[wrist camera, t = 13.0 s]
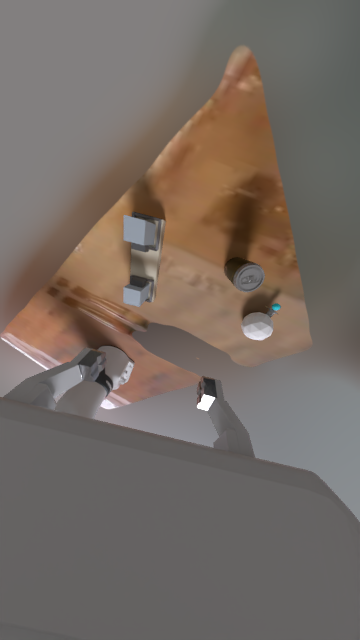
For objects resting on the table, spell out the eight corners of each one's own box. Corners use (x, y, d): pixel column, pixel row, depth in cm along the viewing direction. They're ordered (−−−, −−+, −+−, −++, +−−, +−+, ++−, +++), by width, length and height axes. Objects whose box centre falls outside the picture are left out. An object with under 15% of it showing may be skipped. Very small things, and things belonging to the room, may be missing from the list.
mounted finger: (148, 296, 39) (139, 306, 33) (134, 293, 39) (123, 302, 33) (150, 278, 36) (141, 285, 30) (135, 274, 36) (123, 280, 30)
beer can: (225, 281, 37) (236, 296, 27) (222, 261, 35) (232, 269, 24) (246, 275, 36) (266, 288, 25) (244, 253, 33) (265, 259, 23)
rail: (155, 298, 42) (152, 302, 39) (133, 293, 42) (128, 296, 39) (165, 221, 32) (162, 219, 29) (136, 213, 32) (130, 210, 29)
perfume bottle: (230, 326, 40) (261, 291, 35) (242, 329, 45) (269, 300, 41) (252, 345, 35) (290, 308, 30) (261, 346, 40) (295, 315, 36)
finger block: (153, 251, 33) (143, 253, 27) (137, 247, 33) (123, 248, 27) (155, 224, 30) (145, 220, 24) (138, 220, 30) (123, 214, 24)
